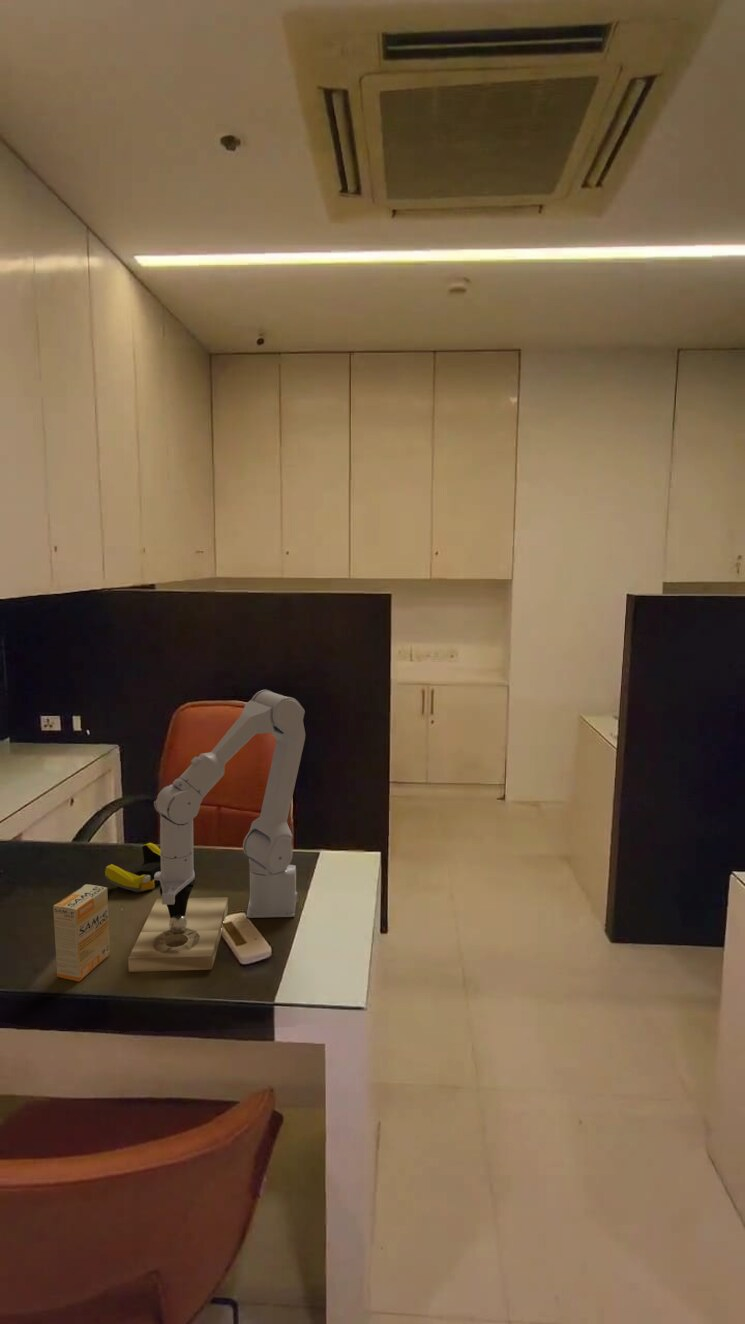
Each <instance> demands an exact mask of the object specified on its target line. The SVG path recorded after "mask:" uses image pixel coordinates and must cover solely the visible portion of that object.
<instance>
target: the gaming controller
mask: <svg viewBox="0 0 745 1324" xmlns="http://www.w3.org/2000/svg"><path fill="white" fill-rule="evenodd" d="M141 852H142V853H141V854H142V858H143V859H142V860H143V863H142V865H140V866H139V867H137V868H135V869H134V870H132V871H131V872H130V871H128V870H125V869H123V868H121V867H119V866H117V865H114V864H112V863H111V864H109V865H107V866H106V867H105V870H104V878H105V879H106V880H107V881H108V882H109V883H110V884H112V885H114V886H117V887H119V888H122V889H124V890H129V891H132V892H134V893H142V892H145V891H150V890H153V889H155V887H157V886H158V885H159V886H160V885H161V883H160V881H159V880H154V875H155V873H156V872H161V851H160V848H159V846H158V845H156V844H154V843H153V842H147V843H146V844H143V845H142V848H141Z"/></svg>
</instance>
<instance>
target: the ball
mask: <svg viewBox="0 0 745 1324" xmlns="http://www.w3.org/2000/svg"><path fill="white" fill-rule="evenodd" d="M186 926H187V919H186V917H185V916H183V915H181V914H177V915H174V916H173V917H172V918H171V919H170V921H169V928H170V929H171V931H173V932H175V933H180V932H182V931H183V930H184V929H185V928H186Z"/></svg>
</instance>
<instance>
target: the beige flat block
mask: <svg viewBox="0 0 745 1324" xmlns="http://www.w3.org/2000/svg"><path fill="white" fill-rule="evenodd" d="M228 911H229V897H227V896H226V897H225V896H224V897H223V896H220V897H189V899H188V903H187V909H186V914H185V917H186V919H187V926H186V928H185V929H184V930H183V931H182V932H180V933H175V932H173V931H171V929H170V928H169V921H170V919H171V918H170V914H169V911H168V907H167V905H163V904H162V898H156V900H155V902H154V904H153V906H152V908H151V911H150V913H149V914H148V916H147V919H146V921H145V923H144V925H143V926H142V929H141V931H140V932H139V934H138V937H137V939H136V941H135V943H134V946H133V948H132V949H131V952H130V954H129V955H128V958H127V959H128V972H129V973H130V972H135V973H136V972H166V971H201V970H202V971H204V970H206V971H207V970H213V967H214V963H215V960H216V955H217V952H218V948H219V945H220V941H221V937H222V934H221V928H222V924H223V921H224V919H225V917H226V918H227V915H228ZM225 920H226V919H225Z"/></svg>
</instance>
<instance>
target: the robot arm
mask: <svg viewBox="0 0 745 1324" xmlns="http://www.w3.org/2000/svg"><path fill="white" fill-rule="evenodd" d="M305 713H306V711H305V709H304V707H303V706H302V705H301V703H300V702H299V701H298V700H297V699H296V698H294V697H291V696H285V695H283V694H280V693H276V692H273V691H271V690H269V689H262V690H260V691H257V692H256V693H255V694H254V695H253V696H252V698H251V699H250V700H249V701H247V702H246V703H245V704H244V706H243V710H242V712H241V714H240V715H239V717H238V718H237V719H236V721H235V722H234V723H233V724H232V726H230V728H229V729H228V730H227V732H226V733H225V734H224V735H223V737H222V738H221V739H220V740H219V742H218V743H217V744H216V745H215V746H214V747H213V749H212V750H211V751H210V752H204V753H203V752H202V753H200V754H199V756H194V757H193V758H192V759H191V760H190V763H191V764H190V765H189V766H188V767H187V768H186V769H185V770H184V772H182V774H181V775H179V777H178V778H175V779H174V781H173V782H172V784H169V785H167V786H164V787H163V788H162V789H161V790H160V791H159V792H158V794H157V796H156V797H157V798H156V799H155V800H154V801H153V807H154V809H155V810H156V812H158V814H159V815H160V817H159V819H160V820H159V821H160V823H159V824H160V826H159V827H160V831H159V836H160V840H159V841H160V844H159V845H160V851H161V872H156V873H155V875H154V880H159V881H160V887H159V894H160V896H161V899H162V904H163V905H167V907H168V911H169V914H170V918H172V917H173V916H174V915H177V914H181V915H183V916H185V914H186V909H187V903H188V899H189V898H190V894H191V892H192V890H193V888H194V887H195V883H196V880H195V870H194V818H196V817H197V816H198V814H199V812H200V810H201V809H200V807H201V803H202V802H203V799H204V798H205V797H206V795H207V794H208V793H209V792H210V791H211V790H212V789H213V788H214V786H216V784H217V783H218V782H219V781H220V780H221V779H222V777H223V776H225V772H226V771H225V768H226V764H227V763H228V762H229V761H230V760H231V758H233V757H234V755H236V754H237V753H238V752H239V751H240V750H241V749H242V748H243V747H244V746H245V745H246V744H247V743H249V741H250V740H251V739H252V738H253V737H254V736H256V735H259V734H268V733H269V734H270V733H271V734H272V736H273V737H274V739H275V744H274V745H275V746H274V750H273V756H272V759H271V765H270V769H269V773H268V778H267V782H266V787H265V791H264V797H263V800H262V805H261V810H260V815H259V817H257V818H255V819H253V821H251V824H250V828H249V831H248V833H247V834H246V836H245V837H244V838H243V841H242V842H243V843H242V850H243V854H245V855H246V857H248V863H249V900H248V904H247V910H246V915H245V916H247V917H248V918H247V917H246V918H247V919H254V918H256V919H258V918H292V917H295V915H296V903H297V902H298V891H297V866H296V865H294V864H291V862H292V859H293V856H294V855H293V853H294V852H293V847H292V842H293V834H292V833H293V832H292V831H291V829H290V827H289V824H288V820H289V819H288V818H289V814H290V811H291V810H290V809H291V805H292V800H293V796H294V791H295V787H296V781H297V777H298V774H299V767H300V764H301V760H302V753H303V750H304V746H305V741H306V731H305V729H306V728H305V726H304V725H305V724H304V718H305Z"/></svg>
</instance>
